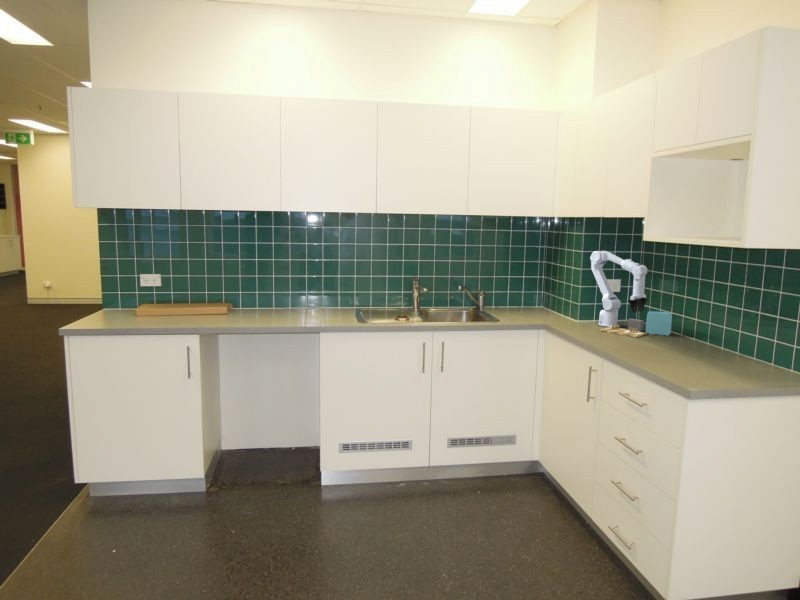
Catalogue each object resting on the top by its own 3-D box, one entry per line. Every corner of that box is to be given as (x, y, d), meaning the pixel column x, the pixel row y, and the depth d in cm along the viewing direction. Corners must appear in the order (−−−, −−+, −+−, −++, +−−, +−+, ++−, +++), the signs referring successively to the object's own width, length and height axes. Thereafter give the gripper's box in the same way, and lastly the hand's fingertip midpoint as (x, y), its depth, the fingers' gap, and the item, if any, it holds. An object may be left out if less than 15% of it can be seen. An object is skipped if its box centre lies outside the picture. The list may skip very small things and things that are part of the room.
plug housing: (627, 329, 302) (628, 319, 301) (630, 329, 305) (631, 318, 304) (639, 332, 297) (640, 321, 296) (642, 331, 299) (643, 320, 299)
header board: (599, 331, 297) (600, 325, 296) (611, 328, 305) (611, 322, 305) (635, 337, 282) (636, 331, 281) (647, 334, 291) (647, 328, 290)
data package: (670, 334, 292) (672, 312, 291) (670, 336, 288) (672, 313, 286) (645, 332, 297) (647, 310, 295) (645, 333, 293) (647, 311, 291)
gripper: (640, 288, 290) (638, 314, 291) (652, 287, 299) (650, 311, 301) (627, 287, 295) (625, 312, 296) (639, 286, 304) (637, 310, 306)
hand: (637, 312), depth 299 cm, fingers open, 7 cm apart
